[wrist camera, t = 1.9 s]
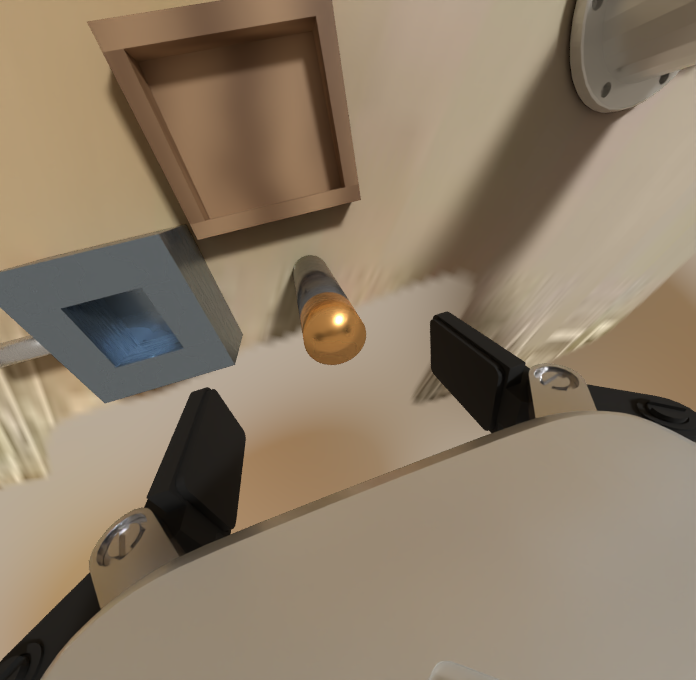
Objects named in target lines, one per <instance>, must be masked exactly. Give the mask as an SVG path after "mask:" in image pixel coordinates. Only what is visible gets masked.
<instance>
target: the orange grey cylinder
mask: <svg viewBox="0 0 696 680" xmlns="http://www.w3.org/2000/svg"><path fill="white" fill-rule="evenodd" d="M293 277H294V283H295V289H296V296H297V302H298V308H299V314H300V321H301V327H302V333H303V339H304V345H305V348H306V351H307V352H308V354H309V355H310V357H312V358H313V359H314V360H316V361H317V362H319V363H322V364H327V365H336V364H341V363H344V362H347V361H349V360H351V359H352V358H354V357H355V356H356V355H357V354H358V353H359V352H360V351H361V349H362V347H363V346H364V343H365V340H366V330H365V326H364V324H363V322H362V321H361V319H360V317H359V316H358V314H357V313H356V311H355V310H354V308H353V306H352V305H351V303H350V302H349V300H348V298H347V297H346V295H345V294H344V292H343V291H342V289H341V287H340V286H339V284H338V283H337V281H336V280H335V278H334V276H333V275H332V273H331V272H330V270H329V268H328V267H327V265H326V264H325V262H324V261H323V260H322V259H320V258H319V257H317V256H312V255H308V256H304V257H302V258H300V259H299V260H298V261H297V262H296V264H295V266H294V269H293Z"/></svg>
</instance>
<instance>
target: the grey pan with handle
mask: <svg viewBox="0 0 696 680" xmlns="http://www.w3.org/2000/svg"><path fill="white" fill-rule="evenodd" d="M0 308H2V309H3V310H4V311H5V312H6V313H7V314H8V315H9V316H10V317H11V318H12V319H14V320H15V321H16V322H17V323H18V324H19V325H20V326H21V327H22V328H23V329H24V330H26V331H27V332H28V333H29V334H30V336H26V337H23V338H19V339H15V340H11V341H8V342H4V343H0V368H2V367H6V366H9V365H13V364H17V363H20V362H24V361H28V360H31V359H35V358H39V357H42V356H46V355H50V354H52V355H53V356H54V357H55V358H56V359H57V360H58V361H59V362H60V363H62V364H63V365H64V366H65V367H66V368H67V369H68V370H69V371H70V372H71V373H72V374H74V375H75V376H76V377H77V378H78V379H79V380H80V381H81V382H82V383H83V384H84V385H86V386H87V387H88V388H89V389H90V390H91V391H92V392H93V393H94V394H95V395H96V396H97V397H99V398H100V399H101V400H102V401H103V402H104V403H108V402H111V401H115V400H118V399H121V398H125V397H128V396H131V395H135V394H138V393H142V392H145V391H148V390H152V389H155V388H158V387H162V386H165V385H169V384H172V383H175V382H179V381H182V380H185V379H189V378H192V377H195V376H199V375H202V374H206V373H209V372H212V371H216V370H219V369H222V368H226V367H229V366H233V365H235V362H236V359H237V355H238V351H239V347H240V343H241V339H242V336H243V334H242V332H241V330H240V328H239V326H238V324H237V322H236V321H235V319H234V317H233V315H232V313H231V311H230V309H229V307H228V305H227V303H226V301H225V299H224V297H223V295H222V293H221V291H220V290H219V288H218V286H217V284H216V282H215V280H214V278H213V276H212V274H211V272H210V270H209V268H208V266H207V264H206V262H205V260H204V259H203V257H202V255H201V253H200V251H199V249H198V247H197V245H196V243H195V241H194V239H193V237H192V235H191V233H190V231H189V229H188V228H187V226H186V225H181V226H177V227H173V228H169V229H165V230H161V231H156V232H152V233H148V234H144V235H140V236H136V237H131V238H127V239H123V240H119V241H115V242H110V243H106V244H102V245H98V246H94V247H90V248H85V249H81V250H77V251H73V252H69V253H65V254H60V255H56V256H52V257H48V258H44V259H40V260H37V261H33V262H30V263H26V264H23V265H19V266H15V267H12V268H8V269H5V270H1V271H0Z"/></svg>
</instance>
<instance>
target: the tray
mask: <svg viewBox="0 0 696 680" xmlns="http://www.w3.org/2000/svg"><path fill="white" fill-rule="evenodd" d="M87 23H88V25H89V27H90V29H91V31H92V33H93V35H94V36H95V38H96V40H97V42H98V44H99V46H100V48H101V50H102V52H103V54H104V56H105V58H106V60H107V62H108V64H109V66H110V68H111V70H112V72H113V74H114V76H115V78H116V80H117V82H118V84H119V86H120V88H121V90H122V92H123V94H124V96H125V98H126V100H127V101H128V103H129V105H130V107H131V109H132V111H133V113H134V115H135V117H136V119H137V121H138V123H139V125H140V127H141V129H142V131H143V133H144V135H145V137H146V139H147V141H148V143H149V145H150V147H151V149H152V151H153V153H154V155H155V157H156V159H157V161H158V163H159V164H160V166H161V168H162V170H163V172H164V174H165V176H166V178H167V180H168V182H169V184H170V186H171V188H172V190H173V192H174V194H175V196H176V198H177V200H178V202H179V204H180V206H181V208H182V210H183V212H184V214H185V216H186V218H187V220H188V222H189V224H190V226H191V228H192V229H193V231H194V233H195V235H196V237H197V239H198V240H200V239H204V238H208V237H212V236H216V235H220V234H224V233H228V232H232V231H236V230H240V229H244V228H248V227H252V226H256V225H261V224H265V223H269V222H273V221H277V220H281V219H285V218H289V217H293V216H297V215H301V214H305V213H309V212H313V211H317V210H321V209H325V208H329V207H334V206H338V205H342V204H346V203H350V202H354V201H358V200H361V198H360V191H359V184H358V177H357V170H356V163H355V156H354V149H353V143H352V136H351V129H350V122H349V115H348V108H347V101H346V94H345V87H344V80H343V74H342V67H341V60H340V53H339V46H338V39H337V32H336V25H335V18H334V12H333V5H332V0H220V1H214V2H208V3H201V4H195V5H189V6H182V7H176V8H170V9H164V10H157V11H151V12H145V13H138V14H132V15H126V16H120V17H113V18H107V19H101V20H94V21H88V22H87Z"/></svg>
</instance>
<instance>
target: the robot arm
mask: <svg viewBox="0 0 696 680" xmlns="http://www.w3.org/2000/svg"><path fill="white" fill-rule="evenodd" d="M570 65H571V72H572V79H573V82H574V85H575V88H576V91H577V94H578V95H579V97H580V98H581V100H582V101H583V102H584V104H585V105H587V106H588V107H589V108H591V109H592V110H594V111H598V112H602V113H608V112H616V111H620V110H624V109H628V108H632V107H634V106H636V105H638V104H640V103H642V102H644V101H646V100H647V99H649V98H650V97H651V96H653V95H654V94H656V93H657V92H658V91H660V90H661V89H662V88H663V87H664V86H665V85H666V84H667V83H668V82H669V81H670V80H672V79H673V78H674V77H675V75H676V74H677V73H678V72H679V71H680V70H681V69H684V68H687V67H690V66H693V65H696V0H577V2H576V7H575V11H574V16H573V22H572V30H571V38H570ZM430 336H431V337H430V341H431V369H432V372H433V374H434V375H435V376H436V377H437V378H438V379H439V380H440V381H441V383H442V384H443V385H444V386H445V387H446V388H447V389H448V390H449V391H450V393H451V394H452V395H453V396H454V397H455V398H456V399H457V400H458V401H459V403H461V405H462V406H463V407H464V408H465V409H466V410H467V411H468V412H469V414H470V415H471V416H472V417H473V418H474V419H475V420H476V421H477V422H478V423H479V425H480V426H481V427H482V428H483V429H484V430H486V431H488V430H489V431H490V432H491V434H489V435H486V436H483V437H480V438H478V439H475V440H473V441H470V442H467V443H464V444H462V445H459V446H457V447H454V448H452V449H449V450H446V451H443V452H441V453H439V454H436V455H433V456H431V457H428V458H425V459H422V460H420V461H417V462H415V463H412V464H409V465H407V466H404V467H402V468H399V469H396V470H394V471H391V472H389V473H386V474H383V475H381V476H378V477H376V478H373V479H370V480H368V481H365V482H363V483H360V484H358V485H355V486H353V487H350V488H347V489H345V490H342V491H340V492H337V493H334V494H332V495H329V496H327V497H324V498H321V499H319V500H316V501H314V502H311V503H309V504H306V505H304V506H301V507H299V508H296V509H293V510H291V511H288V512H286V513H283V514H281V515H279V516H276V517H273V518H271V519H268V520H265V521H263V522H260V523H258V524H255V525H253V526H250V527H248V528H246V529H243V530H241V531H239V532H236V533H233V534H231V535H230V533H231V529H233V528H234V527H235V524H236V517H237V509H238V501H239V492H240V484H241V474H242V466H243V458H244V449H245V441H246V437H245V433H244V430H243V429H242V427H241V426H240V425H239V423H238V422H237V420H236V419H235V418H234V416H233V414H232V413H231V411H230V410H229V408H228V407H227V405H226V404H225V403H224V401H223V400H222V398H221V397H220V395H219V394H218V392H217V391H216V390H215V389H212V390H211V389H210V388H208V387H207V388H203V389H200V390H197V391H194V392H192V393H191V394H190V396H189V399H188V401H187V403H186V406H185V408H184V410H183V413H182V415H181V418H180V420H179V422H178V424H177V427H176V429H175V432H174V434H173V436H172V439H171V441H170V444H169V446H168V448H167V451H166V453H165V455H164V458H163V460H162V463H161V465H160V467H159V469H158V472H157V474H156V476H155V479H154V481H153V483H152V486H151V488H150V491H149V493H148V495H147V499H148V500H147V502H146V505H145V507H144V508H138V509H134V510H132V511H130V512H129V513H127V514H125V515H124V516H122V517H121V518H120V519H118V520H117V521H116V522H115V523H114V524H113V525H112V526H111V527H110V528H108V530H106V532H105V533H104V534H103V536H102V537H101V538H100V539H99V541H98V542H97V544H96V546H95V548H94V549H93V551H92V554H91V557H90V560H89V570H90V573H89V574H88V575H87V576H86V577H85V578H84V579H83V580H82V581H81V582H80V583H79V584H78V585H77V586H76V587H75V588H74V589H73V590H72V591H71V592H70V593H69V594H68V595H66V596H65V597H64V599H62V600H61V602H59V603H58V605H56V606H55V608H53V609H52V610H51V612H49V614H47V615H46V616H45V617H44V618H43V619H42V620H41V621H40V622H39V624H37V625H36V627H34V628H33V629H32V630H31V631H30V632H29V633H28V634H27V635H26V636H25V637H24V638H23V639H22V641H20V642H19V643H18V644H17V645H16V646H15V647H14V648H13V649H12V650H11V651H10V652H9V653H8V654H7V655H6V656H5V657H4V658H3V660H2V661H1V662H0V680H696V412H694V411H693V410H691V409H690V408H688V407H686V406H684V405H682V404H680V403H678V402H675V401H672V400H670V399H666V398H662V397H657V396H653V395H647V394H641V393H635V392H629V391H623V390H617V389H610V388H605V387H599V386H593V385H587V384H586V382H585V380H584V378H583V377H582V376H581V375H580V374H578V373H577V372H576V371H574V370H572V369H570V368H567V367H564V366H561V365H557V364H545V363H544V364H538V365H535V366H533V367H532V368H531V369H530V368H528V367H527V366H525V362H524V361H522V360H521V359H519V358H518V357H516V356H515V355H513V354H512V353H510V352H509V351H507V350H506V349H504V348H503V347H501V346H500V345H498V344H497V343H495V342H494V341H492V340H491V339H489V338H488V337H486V336H484V335H483V334H481V333H480V332H478V331H477V330H475V329H474V328H472V327H471V326H469V325H468V324H466V323H465V322H463V321H462V320H460V319H459V318H457V317H456V316H454V315H452V314H451V313H449V312H444V313H441V314H438V315H435V316H434V317H433V320H431V321H430Z"/></svg>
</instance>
